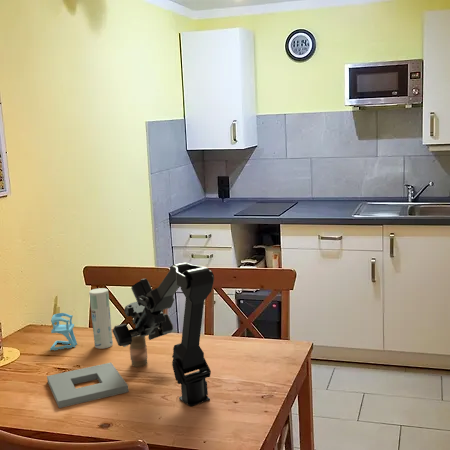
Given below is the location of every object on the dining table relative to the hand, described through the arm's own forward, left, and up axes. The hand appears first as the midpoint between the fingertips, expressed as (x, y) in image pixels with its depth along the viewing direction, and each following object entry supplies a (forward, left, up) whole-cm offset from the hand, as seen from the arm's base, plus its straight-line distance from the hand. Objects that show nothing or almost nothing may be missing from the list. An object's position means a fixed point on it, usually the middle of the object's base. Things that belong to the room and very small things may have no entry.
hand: (136, 342), depth 203 cm
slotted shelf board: (-20, -6, -7) cm, 22 cm away
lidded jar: (0, -1, -7) cm, 7 cm away
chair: (-13, +32, -7) cm, 35 cm away
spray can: (-2, +23, -7) cm, 24 cm away
